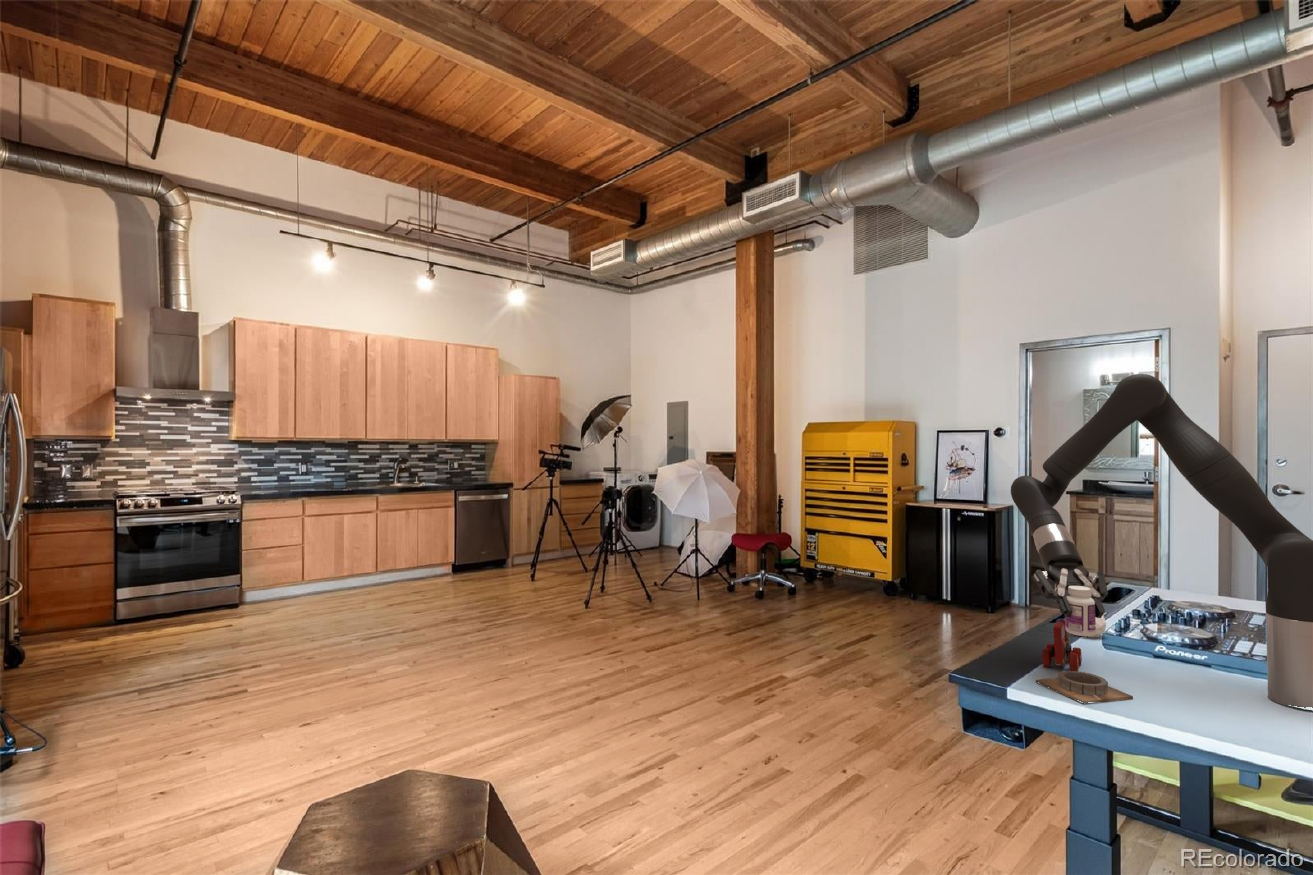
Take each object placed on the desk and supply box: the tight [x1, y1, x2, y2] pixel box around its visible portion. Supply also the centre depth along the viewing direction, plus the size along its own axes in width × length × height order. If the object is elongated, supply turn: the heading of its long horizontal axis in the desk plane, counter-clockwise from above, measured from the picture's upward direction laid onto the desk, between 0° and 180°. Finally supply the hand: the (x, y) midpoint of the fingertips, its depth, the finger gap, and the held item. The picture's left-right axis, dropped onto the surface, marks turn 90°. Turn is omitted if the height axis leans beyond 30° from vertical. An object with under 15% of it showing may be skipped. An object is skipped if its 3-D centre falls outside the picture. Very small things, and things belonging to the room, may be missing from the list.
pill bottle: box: [1064, 586, 1096, 637], centre depth 132 cm, size 5×5×10 cm
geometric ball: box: [1088, 615, 1107, 639], centre depth 169 cm, size 8×8×8 cm
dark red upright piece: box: [1041, 618, 1083, 671], centre depth 147 cm, size 7×12×10 cm, turn 140°
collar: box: [1035, 670, 1134, 703], centre depth 132 cm, size 12×12×3 cm
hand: (1084, 615), depth 130 cm, fingers closed on pill bottle, 5 cm apart
